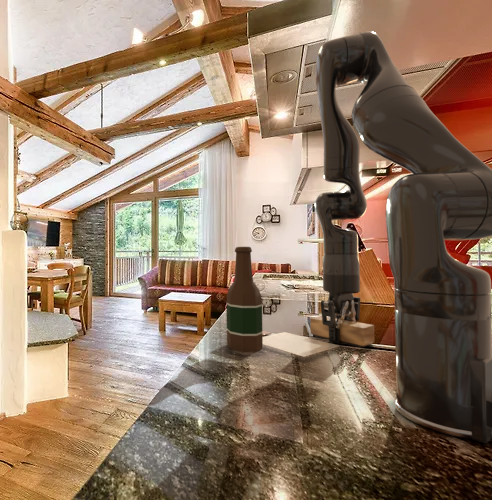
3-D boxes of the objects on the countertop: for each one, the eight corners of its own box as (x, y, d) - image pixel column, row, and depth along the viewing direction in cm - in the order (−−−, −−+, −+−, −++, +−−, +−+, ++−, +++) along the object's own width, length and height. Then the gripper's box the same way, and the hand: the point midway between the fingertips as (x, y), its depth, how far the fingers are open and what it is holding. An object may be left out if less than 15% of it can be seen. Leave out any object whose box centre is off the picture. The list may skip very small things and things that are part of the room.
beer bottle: (270, 354, 66) (269, 246, 67) (242, 358, 64) (241, 246, 64) (246, 344, 74) (245, 247, 74) (220, 348, 71) (218, 247, 71)
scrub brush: (374, 348, 69) (374, 325, 69) (363, 352, 67) (363, 328, 67) (321, 336, 80) (321, 315, 80) (310, 339, 77) (310, 318, 77)
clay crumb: (271, 337, 79) (271, 333, 79) (261, 339, 77) (261, 335, 77) (258, 334, 83) (258, 329, 83) (249, 336, 81) (248, 331, 81)
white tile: (340, 349, 69) (340, 345, 69) (304, 361, 62) (304, 356, 62) (284, 335, 81) (284, 332, 81) (249, 344, 74) (249, 340, 74)
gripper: (341, 274, 66) (343, 350, 66) (372, 272, 74) (373, 340, 73) (308, 272, 73) (309, 341, 73) (339, 270, 80) (340, 333, 80)
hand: (341, 340), depth 73 cm, fingers open, 6 cm apart
